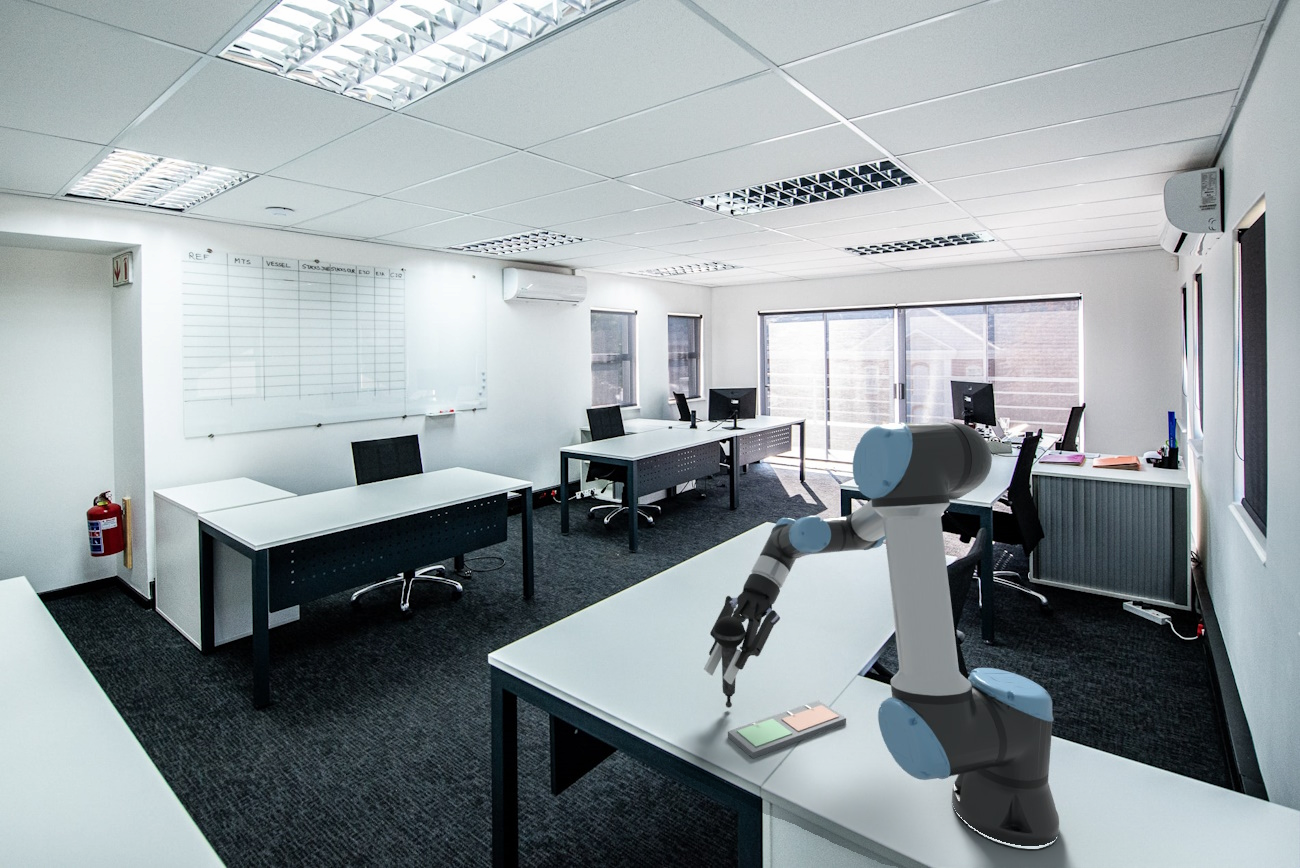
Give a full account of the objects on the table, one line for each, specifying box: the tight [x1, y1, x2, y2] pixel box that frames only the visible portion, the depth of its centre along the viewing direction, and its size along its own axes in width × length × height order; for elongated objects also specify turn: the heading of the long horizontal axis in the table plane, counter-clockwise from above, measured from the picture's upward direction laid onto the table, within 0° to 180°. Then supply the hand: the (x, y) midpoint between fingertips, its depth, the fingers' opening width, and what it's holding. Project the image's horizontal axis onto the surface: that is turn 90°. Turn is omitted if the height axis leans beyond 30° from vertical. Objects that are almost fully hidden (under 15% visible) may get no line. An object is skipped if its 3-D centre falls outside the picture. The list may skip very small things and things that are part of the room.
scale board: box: [727, 699, 847, 759], centre depth 127 cm, size 8×24×1 cm, turn 119°
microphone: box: [713, 615, 746, 709], centre depth 134 cm, size 7×7×20 cm
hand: (717, 676), depth 131 cm, fingers closed on microphone, 5 cm apart
